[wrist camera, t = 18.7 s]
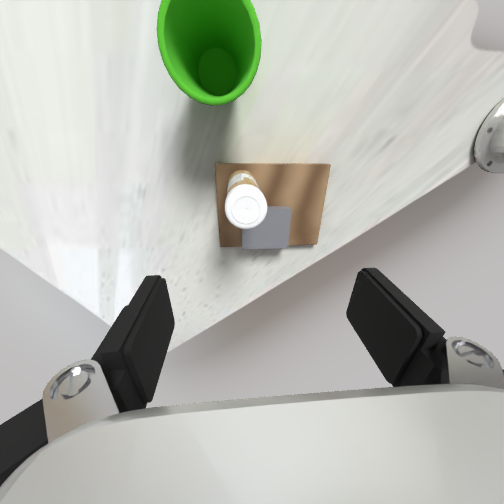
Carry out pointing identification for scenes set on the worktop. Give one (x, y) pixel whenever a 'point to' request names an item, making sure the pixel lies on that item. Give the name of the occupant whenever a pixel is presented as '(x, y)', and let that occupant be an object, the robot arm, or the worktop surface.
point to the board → (279, 197)
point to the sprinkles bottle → (244, 201)
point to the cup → (210, 47)
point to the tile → (269, 230)
